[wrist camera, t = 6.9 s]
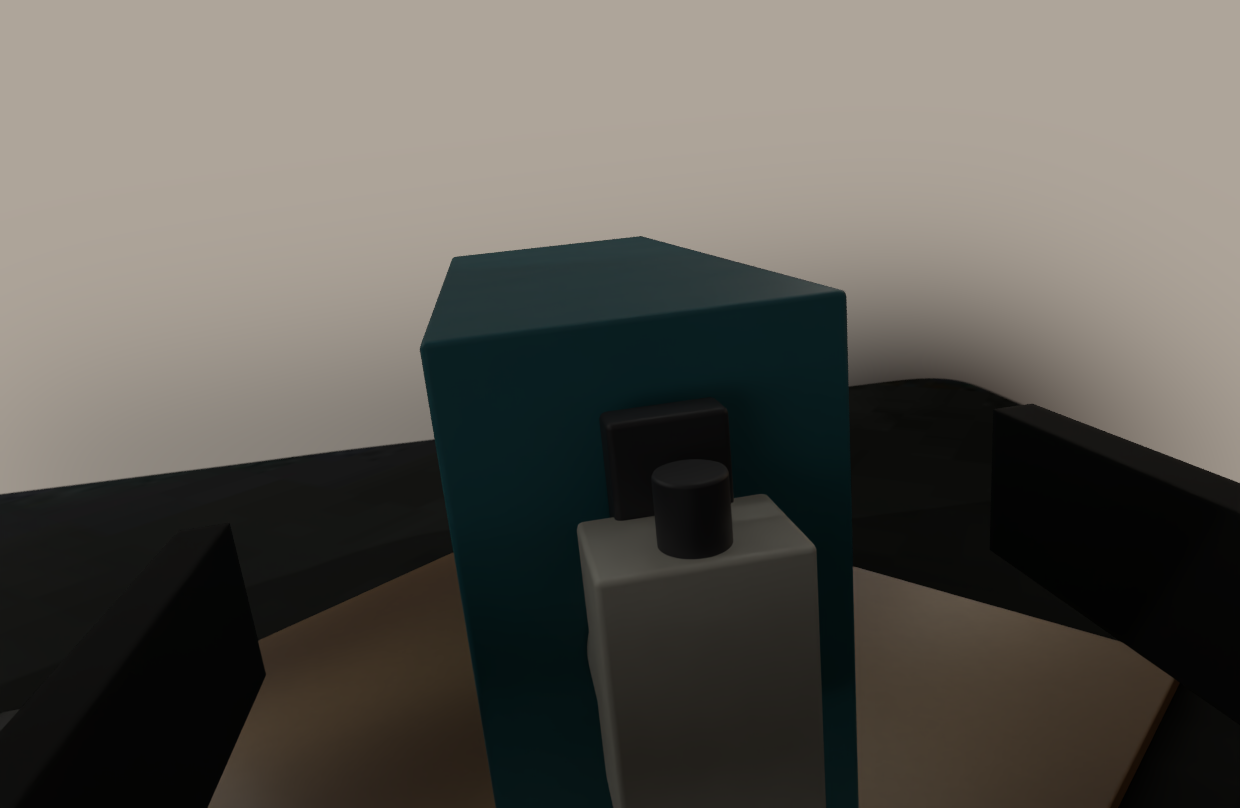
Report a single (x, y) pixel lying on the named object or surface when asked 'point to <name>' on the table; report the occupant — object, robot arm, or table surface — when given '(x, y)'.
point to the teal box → (650, 525)
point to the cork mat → (885, 706)
